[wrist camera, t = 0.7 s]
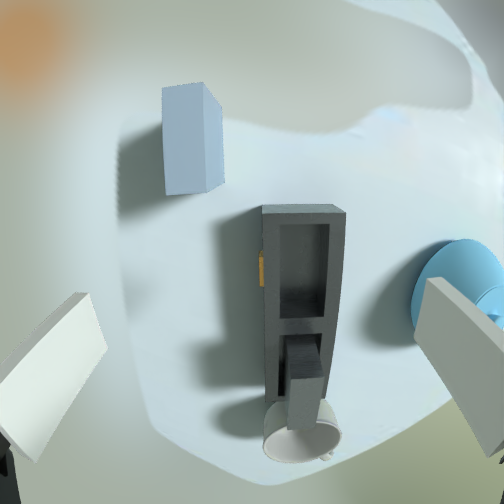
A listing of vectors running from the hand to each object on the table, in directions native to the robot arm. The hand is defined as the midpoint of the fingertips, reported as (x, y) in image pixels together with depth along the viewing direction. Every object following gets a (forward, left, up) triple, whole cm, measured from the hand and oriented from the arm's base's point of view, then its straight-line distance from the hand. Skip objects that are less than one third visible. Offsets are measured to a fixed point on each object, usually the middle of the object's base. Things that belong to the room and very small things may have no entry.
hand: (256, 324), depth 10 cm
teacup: (+30, +6, -21) cm, 38 cm away
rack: (+10, +4, -21) cm, 24 cm away
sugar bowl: (+10, +26, -21) cm, 35 cm away
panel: (-8, -5, -21) cm, 23 cm away
